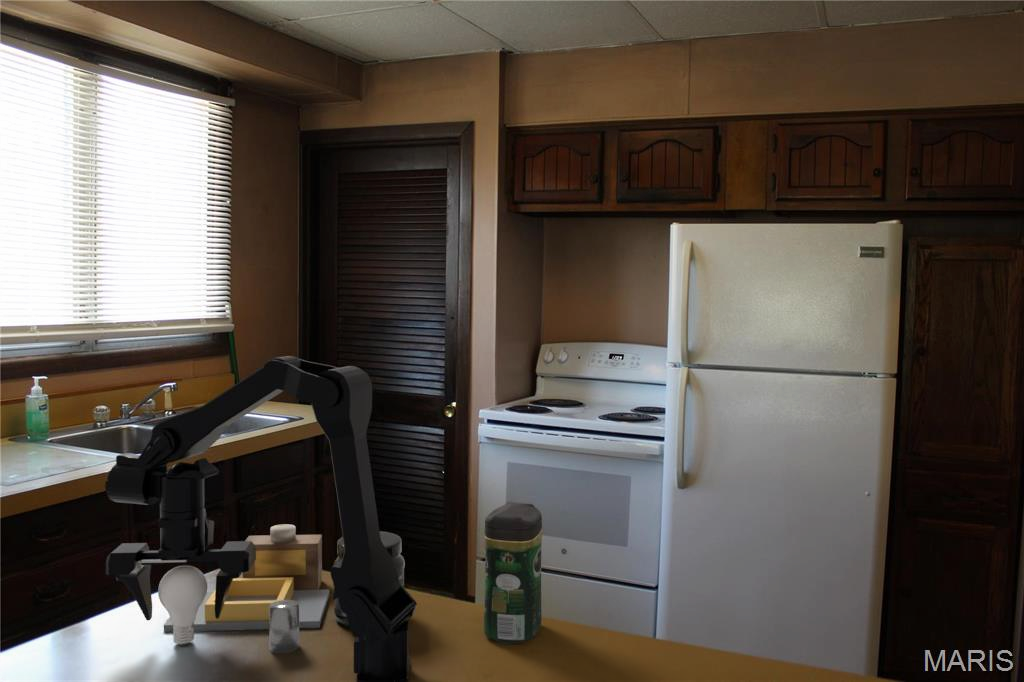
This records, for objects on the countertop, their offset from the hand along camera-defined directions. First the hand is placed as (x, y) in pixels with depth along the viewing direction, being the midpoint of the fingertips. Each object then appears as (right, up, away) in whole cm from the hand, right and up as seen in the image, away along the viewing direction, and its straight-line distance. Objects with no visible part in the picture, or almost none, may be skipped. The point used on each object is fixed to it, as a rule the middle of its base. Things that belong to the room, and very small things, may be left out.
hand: (183, 618), depth 119 cm
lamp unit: (+8, -2, +23) cm, 24 cm away
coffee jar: (+46, -4, +6) cm, 46 cm away
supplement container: (+24, -4, +11) cm, 27 cm away
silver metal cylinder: (+14, -4, 0) cm, 15 cm away
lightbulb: (0, -4, 0) cm, 4 cm away
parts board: (+6, -3, +12) cm, 14 cm away
